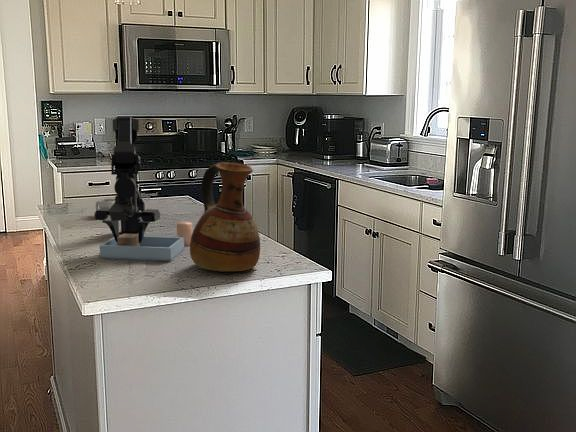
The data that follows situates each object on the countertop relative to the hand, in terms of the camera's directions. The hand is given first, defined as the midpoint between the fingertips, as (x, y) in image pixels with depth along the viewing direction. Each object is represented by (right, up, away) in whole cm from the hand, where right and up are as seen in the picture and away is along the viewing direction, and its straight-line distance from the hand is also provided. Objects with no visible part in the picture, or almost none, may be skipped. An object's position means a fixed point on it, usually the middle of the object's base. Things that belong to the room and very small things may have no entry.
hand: (128, 242), depth 193 cm
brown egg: (+15, -1, +13) cm, 20 cm away
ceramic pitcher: (+31, -7, -14) cm, 35 cm away
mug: (-23, +8, +55) cm, 60 cm away
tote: (+4, -4, 0) cm, 6 cm away
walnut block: (0, -3, +1) cm, 3 cm away
